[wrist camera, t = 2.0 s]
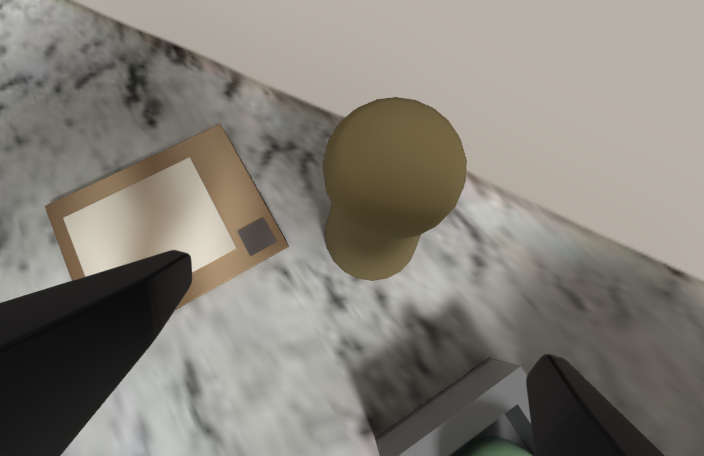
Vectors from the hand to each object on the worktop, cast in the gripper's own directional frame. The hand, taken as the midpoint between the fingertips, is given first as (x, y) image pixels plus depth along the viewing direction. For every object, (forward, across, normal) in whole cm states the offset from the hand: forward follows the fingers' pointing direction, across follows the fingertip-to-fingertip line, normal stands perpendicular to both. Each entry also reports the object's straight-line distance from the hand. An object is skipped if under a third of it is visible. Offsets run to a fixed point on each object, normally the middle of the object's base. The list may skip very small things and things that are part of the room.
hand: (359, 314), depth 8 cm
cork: (+12, 0, +5) cm, 13 cm away
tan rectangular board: (+10, +13, +7) cm, 17 cm away
